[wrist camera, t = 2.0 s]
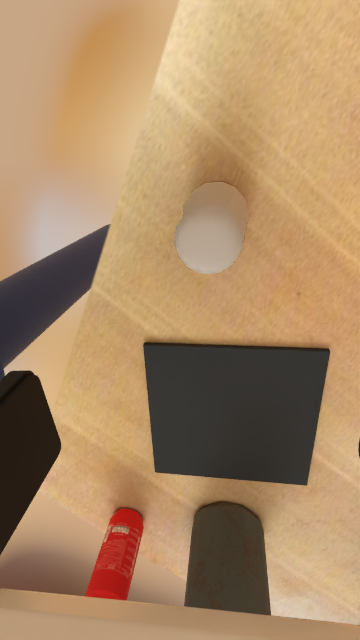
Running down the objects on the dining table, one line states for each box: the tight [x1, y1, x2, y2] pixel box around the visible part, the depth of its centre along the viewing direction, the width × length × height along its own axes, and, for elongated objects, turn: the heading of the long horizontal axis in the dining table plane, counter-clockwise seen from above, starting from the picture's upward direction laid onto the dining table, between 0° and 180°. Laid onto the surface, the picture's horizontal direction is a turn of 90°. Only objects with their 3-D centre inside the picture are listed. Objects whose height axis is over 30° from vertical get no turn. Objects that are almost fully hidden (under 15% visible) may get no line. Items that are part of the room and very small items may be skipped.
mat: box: [143, 343, 330, 485], centre depth 41 cm, size 20×20×1 cm
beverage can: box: [85, 508, 143, 601], centre depth 47 cm, size 5×5×12 cm
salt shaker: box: [175, 181, 250, 274], centre depth 26 cm, size 6×6×13 cm
